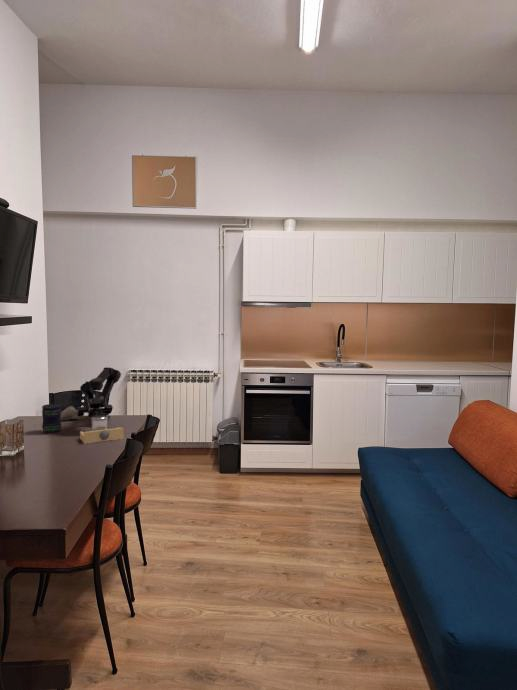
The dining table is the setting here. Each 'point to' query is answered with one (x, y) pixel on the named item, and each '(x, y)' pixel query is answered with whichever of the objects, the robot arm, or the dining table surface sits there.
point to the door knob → (99, 422)
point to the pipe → (69, 413)
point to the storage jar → (51, 418)
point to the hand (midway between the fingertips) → (97, 423)
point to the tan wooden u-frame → (102, 435)
